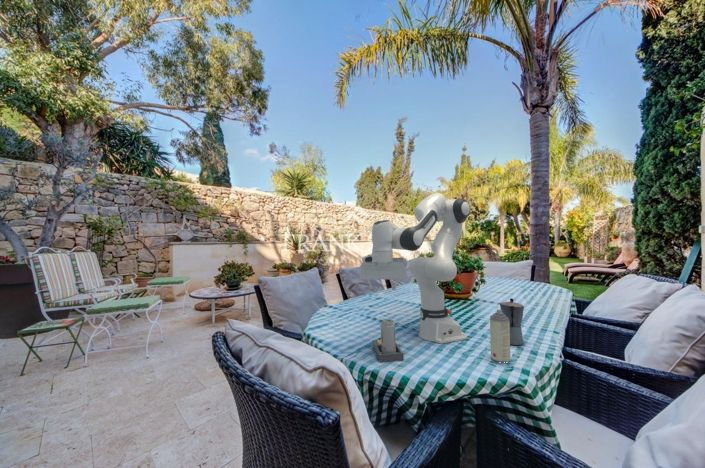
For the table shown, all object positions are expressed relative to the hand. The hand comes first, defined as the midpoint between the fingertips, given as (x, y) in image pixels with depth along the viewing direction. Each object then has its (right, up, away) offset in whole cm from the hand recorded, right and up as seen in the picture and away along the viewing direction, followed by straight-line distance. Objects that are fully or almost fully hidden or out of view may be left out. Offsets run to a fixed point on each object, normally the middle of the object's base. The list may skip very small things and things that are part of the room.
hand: (382, 289), depth 118 cm
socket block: (+2, -27, 0) cm, 28 cm away
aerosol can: (+46, -26, -9) cm, 54 cm away
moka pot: (+60, -26, +7) cm, 66 cm away
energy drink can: (+2, -28, -3) cm, 28 cm away
